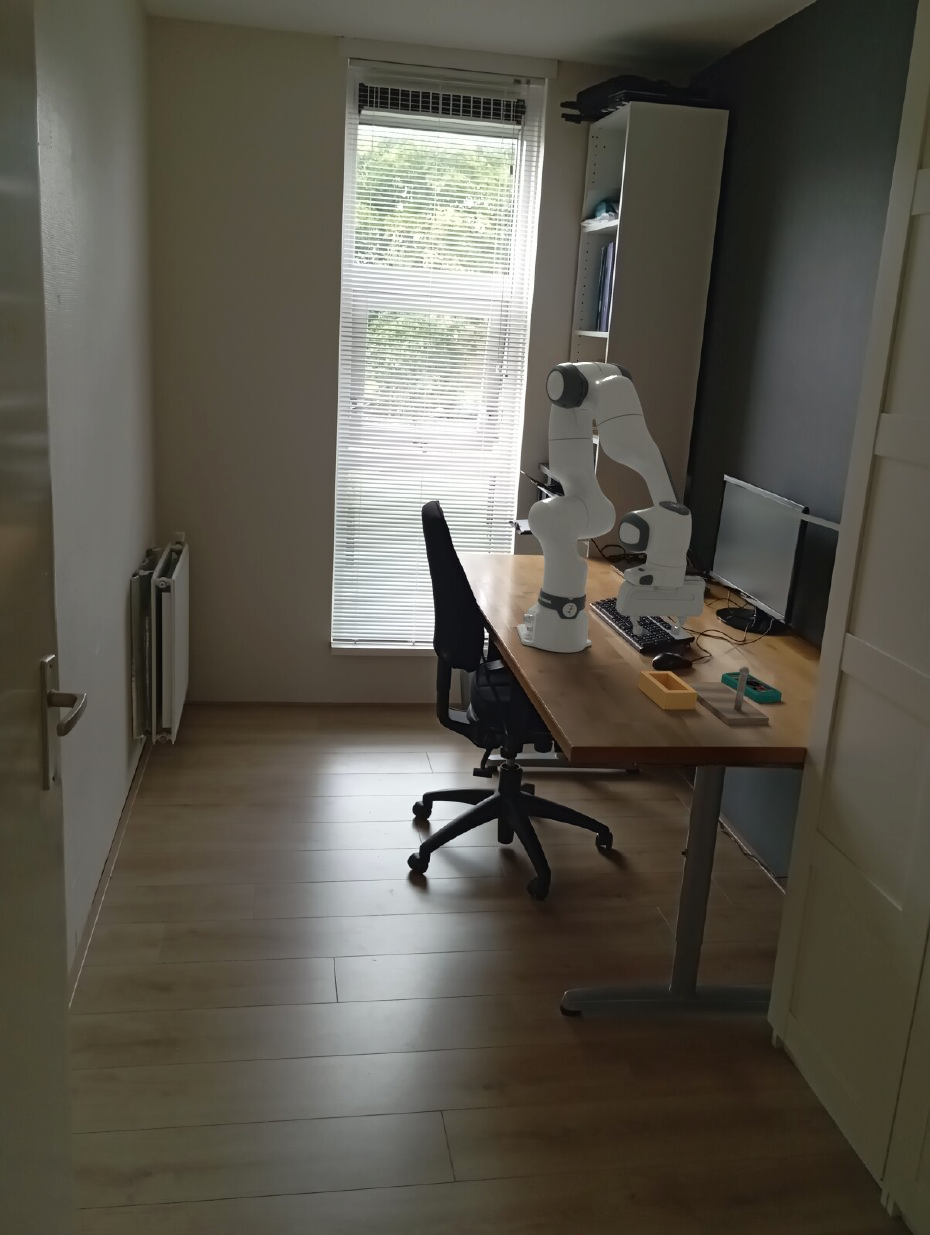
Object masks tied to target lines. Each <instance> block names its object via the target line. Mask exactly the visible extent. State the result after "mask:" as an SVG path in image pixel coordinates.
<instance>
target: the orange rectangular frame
mask: <svg viewBox="0 0 930 1235" xmlns="http://www.w3.org/2000/svg"><path fill="white" fill-rule="evenodd" d="M685 682H686V681H684V680H683V679H681V678H680V677H679V676H677V675H676V674H675V673H673V671H670V670H666V671H665V670H654V671H653V670H651V671H649V670H642V671H641V670H639V678H638V683H637V689H639V690H640V691H641V692H642V693H644V694H645V696H647V697H648V698H649V699H650V700H652V701H653V702H654V703H655V704H656V705H658V706H659V707H660V709H662V710H663V711H665V709H666V710H668V709H669V710H696V706H697V694H698V692H696V691H695V690H694V689H693V688H691V687H690V686H689V685H688V684H686V683H685Z"/></svg>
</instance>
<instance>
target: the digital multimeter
mask: <svg viewBox="0 0 930 1235" xmlns="http://www.w3.org/2000/svg"><path fill="white" fill-rule="evenodd" d="M739 677H740V673H739V671H734V672H731V671H730V672H725V673H723V674H722V675H721V679H720V680H721V681H720V682H721V683H722V684H724V685H725V686H727V687H730V689H731V688H732V689H733V690H735V691H737V688H738V682H739ZM744 696H745V697H746V698H749V699H750V700H752V701H753V702H754V703H758V704H759V703H760V704H762V703H763V704H765V703H766V704H767V703H775V702H776V703H777V702H781V700H782V696H783V692H781V691H780V690H778V689H777V688H775V687H773V686H771V685H770V684H767V683H766V682H764V681H762V680H760V679H758V678H757V677H755V676H754V675H752V674H750V673H749V674H748V675H747V680H746V686H745V691H744Z"/></svg>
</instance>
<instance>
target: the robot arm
mask: <svg viewBox="0 0 930 1235" xmlns="http://www.w3.org/2000/svg"><path fill="white" fill-rule="evenodd" d="M633 383H634V382H633V377H632V373H631V372H630V370H629V369H628V368H627V367H625V366H623V365H620V364H617V363H605V362H598V361H587V362H575V363H574V362H573V363H572V362H565V363H564V362H563V363H560V364H557V365H555V366H553V367H552V369H551V370H550V371H549V373H548V375H547V378H546V383H545V390H546V394H547V397H548V399H549V402H551V407H550V412H549V420H548V468H549V472H550V474H551V476H553V477H554V478H555V479H556V480H557V481H558V482H559V484H560V485H561V487H562V490H563V493H564V496H550V497H547V498H545V499H541V500H538V501H536V502H535V503H533V505H531V507H530V510H529V512H528V515H527V516H528V517H527V523H528V528H529V530H530V532H531V533H532V534H533V536H534V537H535V538H536V539H537V540H538V542H539V544H540V546H541V549H542V553H543V560H544V561H543V563H544V565H543V575H542V576H543V577H542V586H541V588H540V591H539V592H538V596H537V597H538V598H537V602H536V603H535V604H534V605H533V606H532V607H530V608H529V609H528V610H527V613H524V614H523V616H522V622H523V623H521V624H517V626H516V631H517V633H518V636H519V638H520V641H521V643H522V645H524V646H528V647H533V648H537V649H541V650H545V651H549V652H556V653H578V652H581V651H583V650H585V648H587V647H590V646H592V640H591V639H588V633H589V632H588V631H589V614H588V613H587V612H586V610H585V608H586V605H587V594H586V589H587V582H588V581H587V580H588V573H589V566H588V562H587V561H586V559H584V558H583V557H582V556H581V555H580V554H579V551H578V540H585V539H586V540H587V539H594V538H597V537H598V538H599V537H600V536H604V535H605V534H607V533H609V532H611V530H612V529H613V528H614V525H615V524H616V523H615V522H616V519H617V518H616V517H617V515H616V510H615V506H614V504H613V503H612V502H611V501H610V499H608V498H607V497H606V495H605V494H604V493H603V491H602V489H601V487H600V486H601V485H600V484H599V481H598V478H597V475H596V469H595V461H594V460H595V456H594V433H593V432H594V431H593V429H594V428H593V419H594V420H595V425H596V430H597V436H598V441H599V444H600V445H601V448H602V451H603V452H604V454H606V455H607V456H608V457H609V458H610V459H611V460H613V461H615V462H616V463H618V464H621V465H624V466H626V467H628V468H630V469H632V470H633V471H635V472H637V473H638V474H639V475H640V476H641V477H642V478H643V479H644V481H645V483H646V485H647V488H648V492H649V494H650V497H651V500H652V502H653V506H651V507H649V508H645V509H640V510H634V511H629V512H627V513H625V514H624V515H623V516H622V517H621V518H620V520H619V523H618V526H617V538H618V541H619V543H620V546H621V547H622V548H623V549H624V550H626V551H627V552H632V553H634V554H635V553H637V554H638V553H640V554H641V553H644V554H646V555H647V557H646V562H645V563H643V564H640V565H638V566H635V567H631V568H628V569H625V570H624V571H623V579H624V581H623V582H622V583H621V584H620V587H619V589H618V594H617V597H616V602H615V609H616V611H617V612H618V614H620V615H621V616H624V617H629V619H630V621H631V623H632V625H633V626H632V634H633V635H636V636H637V635H638V636H641V635H642V634H643V627H642V626H641V625H639V623H638V621H640V617H673V618H674V617H675V618H677V619H678V620H677V621H676V623H675V625H671V627H670V628H671V629H670V634H671V635H673V636H680V634H681V629H682V627H683V626H684V625H685V624H686V622H687V619H688V617H690V618H691V617H693V618H694V617H695V618H697V617H700V616H701V615H702V614H703V612H704V603H705V601H704V600H705V598H704V597H705V590H706V581H705V580H704V579H703V578H702V577H701V576H699V575H694V576H693V575H686V571H687V570H686V569H687V553H688V550H689V548H690V542H691V538H692V531H693V529H692V523H693V520H692V514H691V510H690V509H689V508H688V507H687V506H686V505H684V504H682V502H681V500H680V497H679V494H678V491H677V488H676V486H675V483H674V480H673V477H672V475H671V472H670V468H669V465H668V463H667V460H666V458H665V455H664V453H663V451H662V450H661V448H660V447H659V446H658V445H657V444H656V442H655V440H653V437H652V435H651V434H650V431H649V429H648V427H647V423H646V420H645V416H644V415H645V414H644V411H643V407H642V405H641V404H642V403H641V401H640V398H639V396H638V393H637V390H636V388H635V385H634V384H633Z"/></svg>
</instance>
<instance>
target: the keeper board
mask: <svg viewBox="0 0 930 1235" xmlns="http://www.w3.org/2000/svg"><path fill="white" fill-rule="evenodd" d="M738 672H739V673H740V677H739V682H738V688H737V690H736V692H735V691H733V690H732V689H731V688H729V686H727V685H726V684H724V683H722V682H721V681H719V682H715V681H714V682H713V681H712V682H710V681H709V682H705V681H703V682H700V681H699V682H690V681H689V682H686V681H684V682H685V683H686V684H688V685H689V686H690V687H691V688H693V689H694V690H695V691H696V692H698V694H697V700H696V702H698V703H699V704H700V705H702V706H703V707H704V708H706V709H707V710H708V711H709V712H710V711H711V712H710V713H711V714H713V713H714V714H715V715H717V716H718V717H717V716H716V717H717V718H718V719H719V718H720V719H721V720H720V719H719V720H720V721H721V722H723V721H724V722H725V723H726V725H727V726H740V725H741V726H742V725H748V726H749V725H769V721H770V717H768V716H767V715H766V714H765V713H763V712H762V711H760V710H759V709H758V708H756V707H755V706H754V705H753V704H751V703H749V701H747V700H746V699H744V698H745V697H744V696H745V695H744V691H745V686H746V680H747V675H748V674H750V669H749V668H748V667H747V666H746V665H745V666H741V667H740V668H739V671H738ZM714 714H713V715H714ZM715 715H714V716H715ZM724 722H723V723H724ZM725 723H724V724H725Z"/></svg>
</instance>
